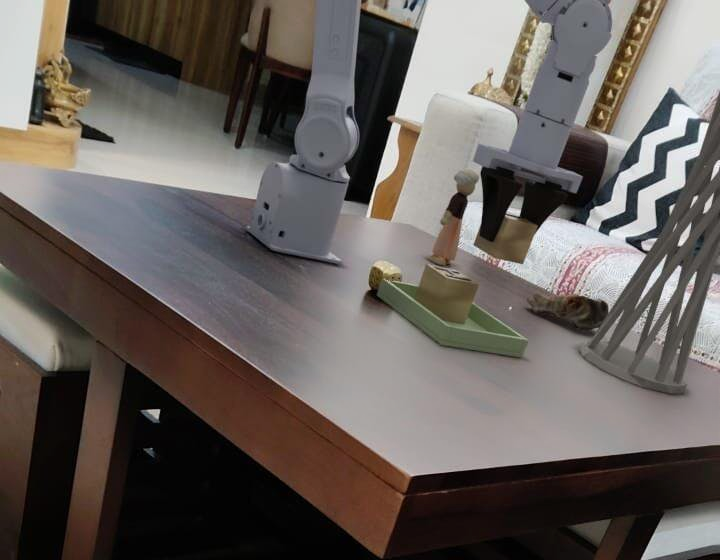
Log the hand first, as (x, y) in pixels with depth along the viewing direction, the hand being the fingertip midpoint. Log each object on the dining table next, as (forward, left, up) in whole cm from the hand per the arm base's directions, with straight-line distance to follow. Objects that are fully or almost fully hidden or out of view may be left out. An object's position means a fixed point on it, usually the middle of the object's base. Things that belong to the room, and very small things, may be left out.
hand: (501, 242), depth 116 cm
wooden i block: (0, 0, -1) cm, 1 cm away
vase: (+15, -13, -9) cm, 22 cm away
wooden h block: (-10, -6, -8) cm, 14 cm away
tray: (-10, -8, -8) cm, 15 cm away
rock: (+17, +3, -9) cm, 20 cm away
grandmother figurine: (+9, +23, -9) cm, 26 cm away
